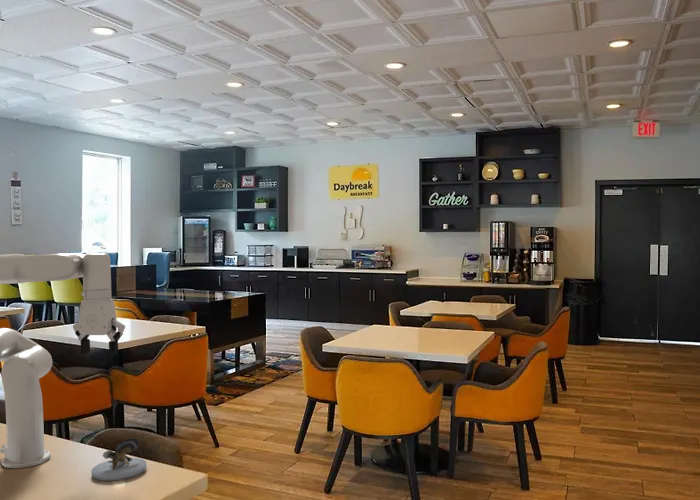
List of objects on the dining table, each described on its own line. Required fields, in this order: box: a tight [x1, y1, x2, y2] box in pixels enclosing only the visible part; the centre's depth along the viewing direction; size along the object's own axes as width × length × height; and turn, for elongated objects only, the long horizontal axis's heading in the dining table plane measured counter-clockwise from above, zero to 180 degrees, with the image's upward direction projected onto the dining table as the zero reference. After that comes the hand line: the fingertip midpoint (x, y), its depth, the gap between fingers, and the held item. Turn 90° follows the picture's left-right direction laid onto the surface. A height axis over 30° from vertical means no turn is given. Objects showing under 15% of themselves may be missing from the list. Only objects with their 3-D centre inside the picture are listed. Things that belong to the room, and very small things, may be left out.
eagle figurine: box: [102, 437, 140, 469], centre depth 171 cm, size 8×7×9 cm
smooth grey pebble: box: [90, 457, 147, 481], centre depth 169 cm, size 14×14×2 cm
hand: (99, 353), depth 181 cm, fingers open, 9 cm apart
